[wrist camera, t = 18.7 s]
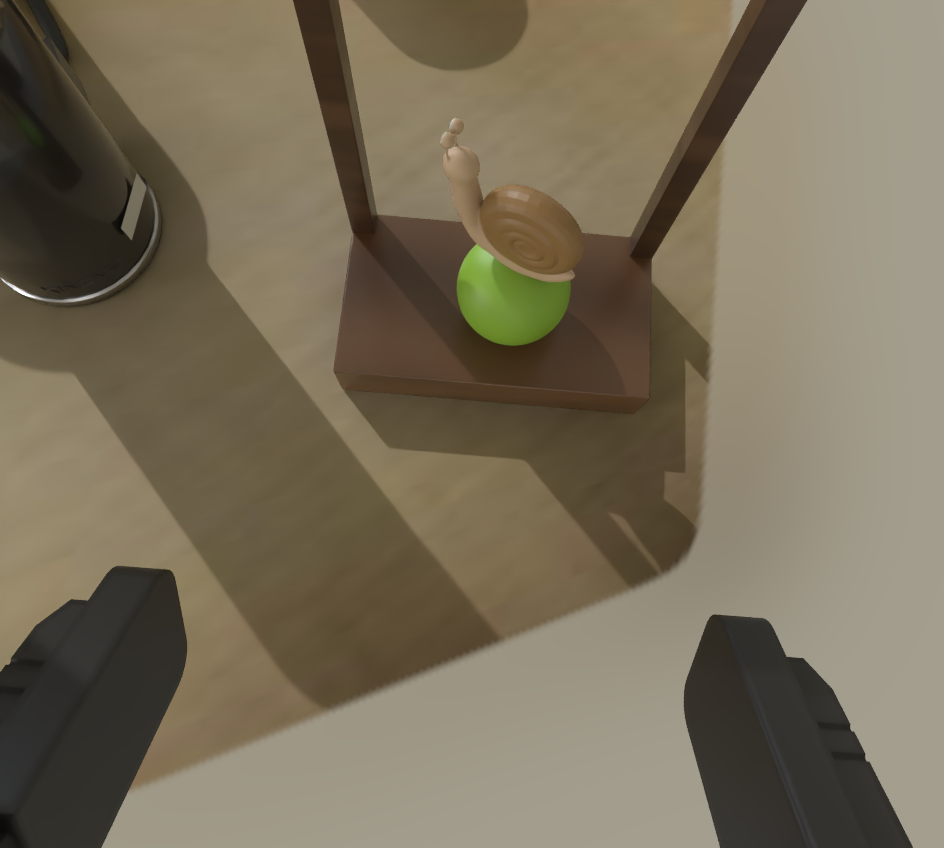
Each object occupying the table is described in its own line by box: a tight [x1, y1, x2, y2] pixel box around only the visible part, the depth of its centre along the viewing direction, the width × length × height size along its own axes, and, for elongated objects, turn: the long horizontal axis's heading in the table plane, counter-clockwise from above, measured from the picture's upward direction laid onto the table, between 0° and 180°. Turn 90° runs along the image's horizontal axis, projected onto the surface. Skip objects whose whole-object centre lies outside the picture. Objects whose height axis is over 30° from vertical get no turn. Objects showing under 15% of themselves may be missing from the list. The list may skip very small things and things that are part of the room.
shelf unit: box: [293, 0, 807, 414], centre depth 20 cm, size 9×16×38 cm, turn 86°
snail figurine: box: [440, 118, 584, 346], centre depth 29 cm, size 5×6×12 cm
